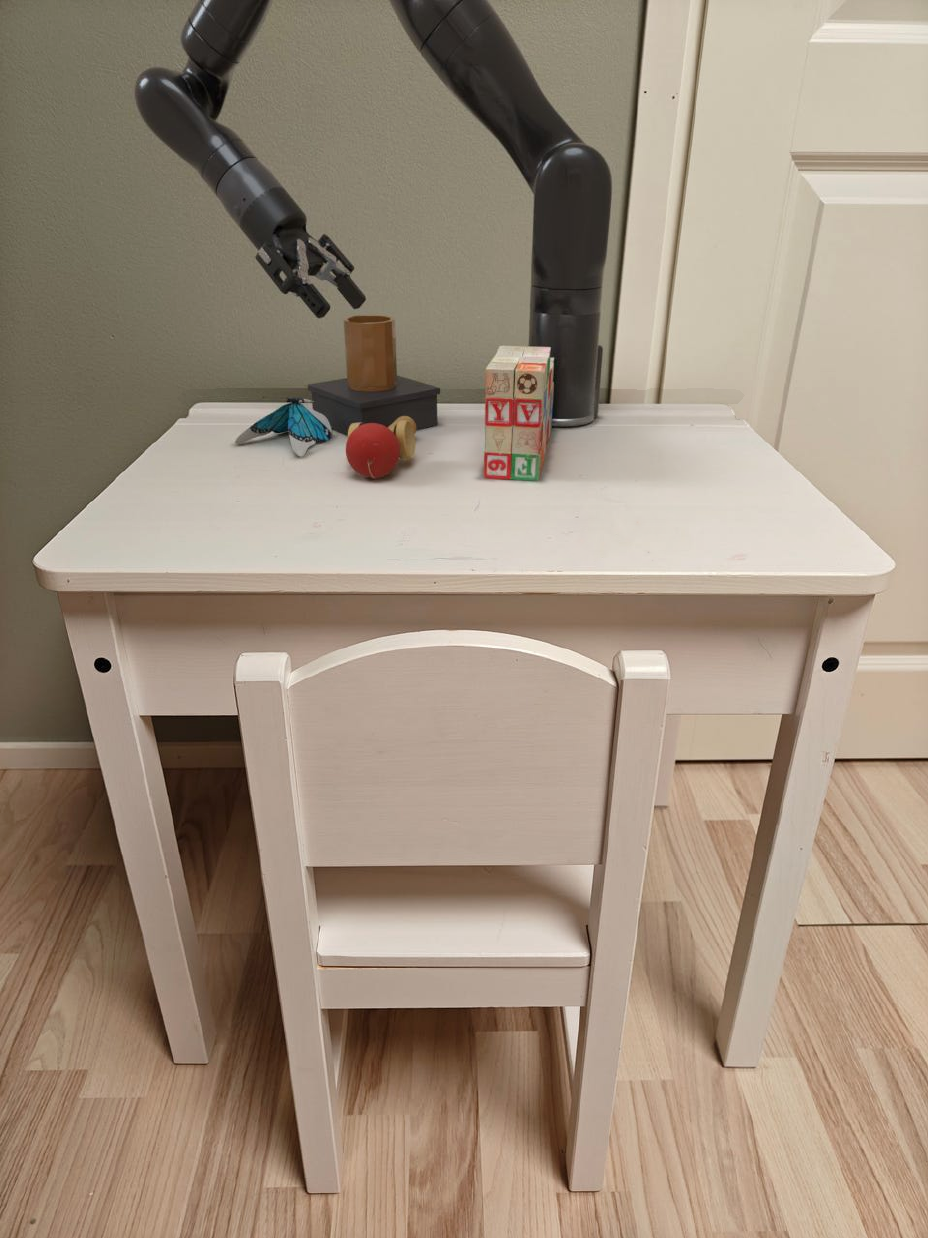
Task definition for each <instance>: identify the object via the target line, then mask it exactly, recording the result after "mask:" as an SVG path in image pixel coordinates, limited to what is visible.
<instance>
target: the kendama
mask: <svg viewBox="0 0 928 1238" xmlns="http://www.w3.org/2000/svg"><path fill="white" fill-rule="evenodd" d="M416 433H417V430H416V424H415V422H414V420H413V419H412V418H410V417H408V416H401V417H399V418H397V419H396V421H395V422H394V423H392V424H391V425H390V426H389V427H388V428H387V427H386V426H384V425H381V424H377V423H367V424H364V423H362V422H359V423H352V424H351V425H350V427H349V430H348V435H347V439H346V444H345V455H346V460H347V462H348V464H349V466H350V467H351V469H352V470H353V471H354V472H355V473H357V474H358V475H360V476H362V477H365V478H369V479H375V480H376V479H379V478H382V477H385V476H387V475H388V474H390V473H391V472H393V470H394V469H395V468H396V466H397V465H398V463H399V460H400V459H401V460H403V461H407V460H412V459H413V458H414V456H415V452H416V437H415V435H416Z"/></svg>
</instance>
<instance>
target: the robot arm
mask: <svg viewBox="0 0 928 1238" xmlns="http://www.w3.org/2000/svg"><path fill="white" fill-rule="evenodd" d="M388 1H389V2H390V5H391V6H392V9H393V11H394V13H395V15H396V17H397V19H398V21H399V22H400V25H401V26H402V28H403V30H404V31H405V33H406V35H407V37H408V38H409V40H410V41H411V43H412V44H413V46H414V48H415V49H416V50H417V52H418V53H419V54H420V56H421V57H422V58H423V59H424V61H425V62H426V63H427V65H428V66H429V67H430V68H431V70H432V71H433V72H434V74H435V75H436V76H437V78H438V79H439V80H440V81H441V82H442V84H443V85H444V87H446V88H447V90H449V92H450V93H451V94H452V95H453V97H455V99H456V100H458V102H459V103H460V104H461V105H462V106H463V107H464V108H465V109H466V110H467V112H469V113H470V114H471V115H472V117H473V118H475V119H476V120H477V121H478V122H479V123H480V124H481V125H482V126H483V127H484V128H485V129H486V130H487V131H488V132H490V134H491V135H492V137H494V138H495V139H496V140H497V141H498V142H499V144H500V145H501V146H502V148H503V149H504V151H505V152H506V153H507V155H508V156H509V158H510V159H511V160H512V162H513V164H514V165H515V166H516V168H517V170H518V171H519V172H520V174H521V176H522V178H523V180H524V181H525V182H526V185H528V187H529V189H530V191H531V193H532V194H533V208H532V210H533V212H532V213H533V214H532V240H531V245H532V246H531V257H530V258H531V259H530V260H531V262H530V293H529V321H528V322H529V324H528V344H527V345H528V346H527V347H551V352H550V358H554V374H553V382H554V394H553V410H552V427H559V428H560V427H561V428H565V427H566V428H569V427H579V426H583V425H587V424H590V423H592V422H593V421H594V418H598V417H599V405H600V393H601V379H602V367H603V357H604V356H603V355H604V348H603V346H602V345H601V344H600V343H599V342H600V341H599V340H600V329H601V328H600V327H601V314H602V300H603V286H604V278H605V277H604V276H605V271H606V270H605V269H606V265H607V257H608V245H609V233H610V223H611V214H612V213H611V211H612V200H613V177H612V172H611V168H610V166H609V164H608V161H607V160H606V158H605V157H604V155H602V153H601V152H600V151H599V150H598V149H596V148H595V147H593V146H591V145H588V144H587V143H586V142H585V141H584V140H583V139H582V138H581V137H580V136H579V134H577V133H576V132H575V131H574V129H572V127H570V125H569V123H568V122H567V121H566V120H565V119H564V118H563V117H562V116H561V115H560V113H559V112H558V111H557V109H555V107H554V106H553V105H552V104H551V102H550V100H549V99H548V98H547V97H546V94H544V92H543V90H542V89H541V87H540V85H539V84H538V81H537V80H536V77H535V75H534V74H533V72H532V70H531V67H530V66H529V64H528V61H527V60H526V58H525V56H524V55H523V52H522V51H521V49H520V48H519V46H518V44H517V42H516V41H515V39H514V37H513V35H512V34H511V32H510V30H509V28H508V27H507V26H506V24H505V23H504V22H503V20H502V18H501V17H500V15H499V14H498V13H497V11H496V9H495V8H494V6H493V5H492V4H491V3H490V1H489V0H388ZM272 4H273V0H197V1H196V2H195V5H194V6H193V8H192V9H191V11H190V12H189V15H188V16H187V18H186V20H185V21H184V24H183V26H182V29H181V31H180V35H179V37H180V38H179V39H180V40H179V41H180V45H181V48H182V50H183V51H184V53H185V54H186V55H187V61H186V64H185V65H184V68H183V69H182V70H177V69H172V68H169V67H165V66H151V67H148V68H146V69H144V70H142V71H141V72H140V73H139V74H138V76H137V77H136V80H135V81H134V82H135V83H134V87H133V98H134V102H135V107H136V109H137V112H138V113H139V116H140V117H141V119H142V121H143V122H144V124H145V125H146V127H147V128H148V129H149V130H150V131H151V132H152V134H154V136H156V138H158V140H160V141H161V142H162V143H163V144H164V145H165V146H167V147H168V148H169V149H170V150H171V151H172V152H173V153H175V154H176V155H177V156H178V157H179V158H180V159H182V160H183V161H184V162H185V163H187V164H188V165H190V167H191V168H193V169H194V170H195V171H196V172H197V174H199V176H200V178H201V179H202V180H203V181H204V183H205V184H206V185H207V186H208V188H209V189H210V191H212V193H213V194H214V195H215V196H216V198H217V199H218V200H219V201H220V203H221V204H222V206H223V208H224V209H225V211H226V212H227V214H228V215H229V217H230V218H231V219H232V221H234V223H235V224H236V225H237V227H238V228H239V229H240V230H241V231H242V232H243V233H244V235H245V236H246V238H248V240H249V241H250V243H251V244H252V245H253V246H254V248H256V249H257V253H256V255H255V257H254V258H255V260H256V261H257V263H259V265H260V266H261V268H262V269H263V270H264V271H265V273H266V274H267V275H268V277H269V278H270V279H271V281H272V282H273V284H274V285H275V286H276V287H277V288H278V290H279V291H280V292H281V293H282V294H284V295H288V294H289V293H291V294H292V295H293V296H295V297H297V298H298V297H299V298H300V299H301V300H302V302H303V303H304V304H305V305H306V306H307V308H308V309H309V311H310V312H311V313H313V315H314V316H315V317H316V318H317V319H322V318H324V317H326V315H327V314H328V313H329V311H330V310H331V305H330V303H329V302H328V301H327V300H326V298H325V297H324V296H323V294H322V293H321V292H320V291H319V289H318V288H317V287H316V286H315V285H314V284H313V283H311V281H310V277H315V278H316V279H318V280H320V281H326V282H329V283H330V284H332V285H333V286H335V287H336V290H337V291H338V292H339V293H340V294H341V295H342V297H343V298H344V300H345V301H346V302H347V303H348V304H349V306H350V307H351V308H352V309H353V310H357V309H360V308H361V307H362V306H363V305H364V303H365V302H366V300H367V297H366V295H365V294H364V293H363V291H362V290H361V289H360V288H359V286H358V285H357V284H356V283H355V281H354V280H353V279H352V278H351V274H352V273H353V272H354V271H355V266H354V265H353V264H352V262H351V261H350V260H349V259H348V258H347V256H346V255H345V254H344V253H343V251H341V249H340V247H338V246H337V244H335V242H334V241H333V240H332V239H331V238H330V237H329V236H328V235H327V234H326V233H323V234H322V235H321V236H320V238H318V239H316V238H314V237H313V236H312V235H311V234H310V233H309V232H308V231H307V221H308V218H307V215H306V213H305V212H304V211H303V209H302V208H301V207H300V206H299V204H298V203H297V202H296V201H295V200H294V199H293V197H292V196H291V195H290V193H289V192H288V191H287V190H286V189H285V187H284V186H283V184H281V182H279V179H277V177H276V176H275V175H274V173H272V171H270V170H269V169H268V168H267V167H266V166H265V165H264V164H263V163H262V162H261V161H260V159H259V158H258V157H257V156H256V155H255V153H254V152H253V151H252V150H251V149H250V147H249V146H248V145H247V144H246V142H245V141H244V140H243V138H242V137H240V135H239V134H238V133H237V132H236V131H235V130H234V129H232V128H230V127H229V126H227V125H225V124H223V123H220V122H218V120H219V118H220V115H221V113H222V110H223V108H224V105H225V102H226V100H227V95H228V93H229V90H230V87H231V83H232V80H233V76H234V73H235V70H236V69H237V67H238V66H239V65H240V63H241V62H242V60H243V58H244V56H245V55H246V53H247V52H248V50H249V49H250V47H251V46H252V44H253V43H254V41H255V39H256V37H257V36H258V34H259V33H260V30H261V29H262V27H263V25H264V23H265V20H266V18H267V16H268V14H269V11H270V10H271V6H272ZM281 273H283V274H284V277H285V278H284V279H283V278H282V277H281Z"/></svg>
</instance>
